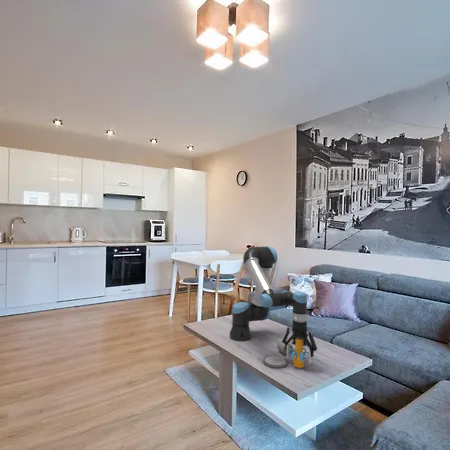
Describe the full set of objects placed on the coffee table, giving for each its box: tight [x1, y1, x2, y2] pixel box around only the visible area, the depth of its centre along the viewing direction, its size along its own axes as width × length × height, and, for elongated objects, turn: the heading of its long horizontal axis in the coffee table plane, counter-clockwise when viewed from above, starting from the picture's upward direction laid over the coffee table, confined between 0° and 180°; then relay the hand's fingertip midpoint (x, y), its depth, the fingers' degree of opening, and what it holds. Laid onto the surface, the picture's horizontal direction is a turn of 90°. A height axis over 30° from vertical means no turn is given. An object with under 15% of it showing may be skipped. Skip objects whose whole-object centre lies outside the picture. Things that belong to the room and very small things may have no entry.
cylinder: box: [288, 337, 309, 369], centre depth 168 cm, size 12×10×15 cm
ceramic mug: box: [276, 338, 295, 356], centre depth 187 cm, size 11×8×8 cm
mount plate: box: [262, 354, 289, 369], centre depth 173 cm, size 14×14×1 cm
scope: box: [291, 327, 309, 347], centre depth 201 cm, size 8×14×10 cm
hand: (298, 359), depth 168 cm, fingers closed on cylinder, 12 cm apart
